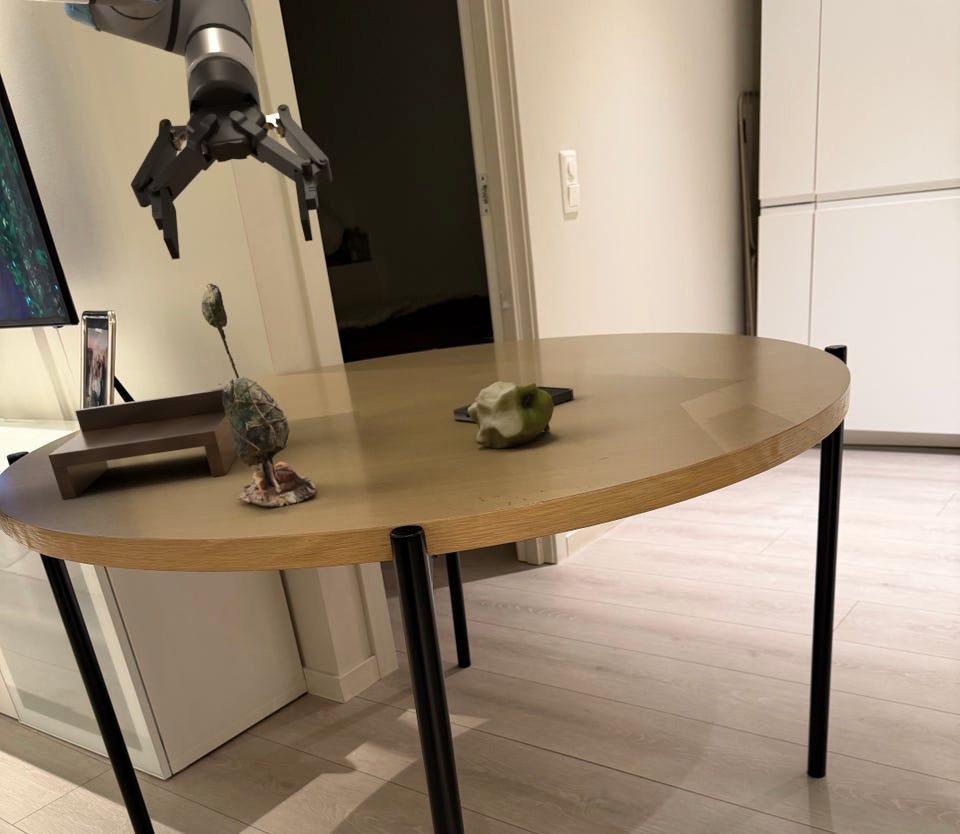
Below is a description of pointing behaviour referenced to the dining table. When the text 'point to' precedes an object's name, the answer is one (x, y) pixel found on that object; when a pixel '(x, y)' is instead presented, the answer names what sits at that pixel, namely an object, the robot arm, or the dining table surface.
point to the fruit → (511, 414)
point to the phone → (555, 393)
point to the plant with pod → (256, 427)
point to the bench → (143, 436)
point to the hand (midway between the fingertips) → (239, 240)
